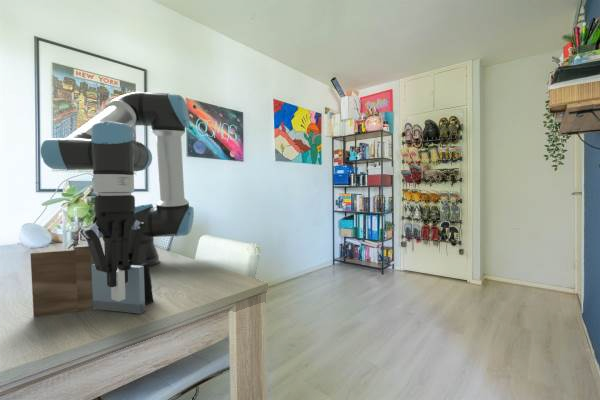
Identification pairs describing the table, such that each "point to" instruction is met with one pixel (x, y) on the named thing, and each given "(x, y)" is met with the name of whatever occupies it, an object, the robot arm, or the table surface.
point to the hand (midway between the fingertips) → (118, 299)
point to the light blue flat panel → (133, 291)
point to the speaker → (147, 284)
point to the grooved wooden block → (62, 280)
